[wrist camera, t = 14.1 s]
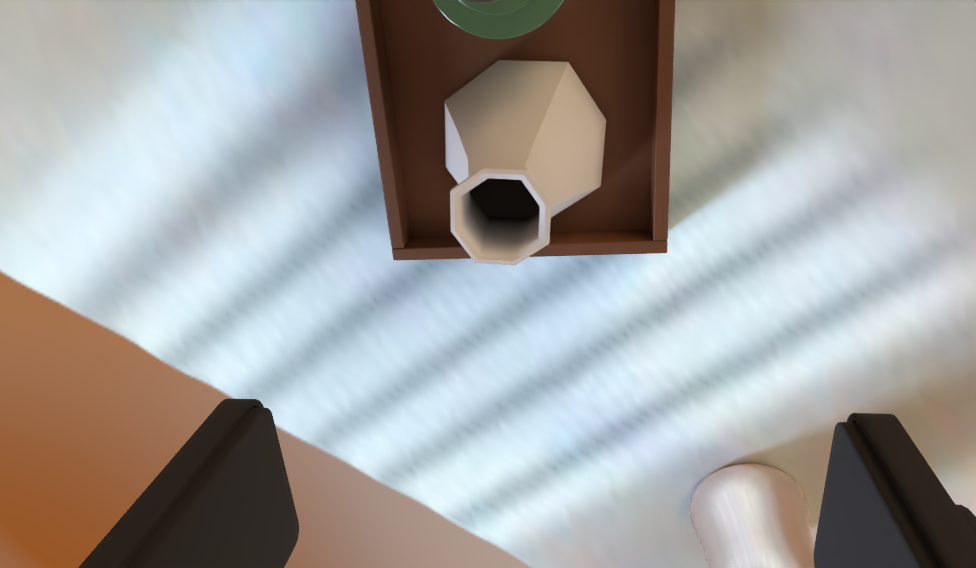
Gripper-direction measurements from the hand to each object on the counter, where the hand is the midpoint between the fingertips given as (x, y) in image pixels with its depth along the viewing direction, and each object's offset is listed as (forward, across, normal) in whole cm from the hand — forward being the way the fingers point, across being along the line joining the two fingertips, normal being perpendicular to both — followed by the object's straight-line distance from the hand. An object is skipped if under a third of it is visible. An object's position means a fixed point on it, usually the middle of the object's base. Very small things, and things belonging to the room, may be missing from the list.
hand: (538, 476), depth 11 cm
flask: (+20, +2, -1) cm, 21 cm away
